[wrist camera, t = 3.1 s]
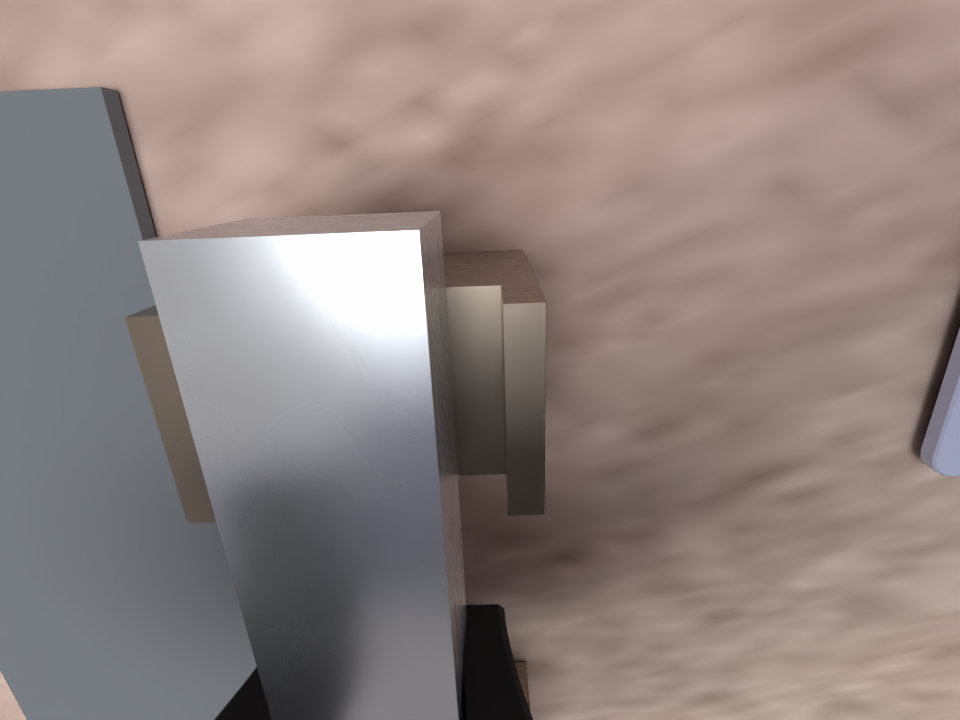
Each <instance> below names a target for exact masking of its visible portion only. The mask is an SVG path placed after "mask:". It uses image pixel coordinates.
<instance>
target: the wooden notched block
mask: <svg viewBox="0 0 960 720" xmlns="http://www.w3.org/2000/svg"><path fill="white" fill-rule="evenodd" d="M443 255H444V270H445V286H446V301H447V317H448V332H449V347H450V363H451V378H452V394H453V409H454V425H455V440H456V456H457V471H458V475H484V474H505V475H506V491H507V506H508V515H540V514H544V494H545V378H546V301H545V299H544V297H543V294H542V292H541V290H540V288H539V286H538V283H537V281H536V279H535V277H534V274H533V272H532V270H531V268H530V266H529V263H528V261H527V259H526V257H525V255H524V252H523V250H520V251H493V252H467V253H443ZM125 320H126V323H127V327H128V330H129V333H130V336H131V340H132V343H133V346H134V349H135V353H136V356H137V359H138V363H139V366H140V369H141V372H142V376H143V379H144V382H145V386H146V389H147V392H148V395H149V399H150V402H151V405H152V408H153V412H154V415H155V418H156V422H157V425H158V428H159V431H160V435H161V438H162V441H163V444H164V448H165V451H166V454H167V458H168V461H169V464H170V467H171V471H172V474H173V477H174V480H175V484H176V487H177V490H178V494H179V497H180V500H181V503H182V507H183V510H184V513H185V517H186V520H187V523H215V522H216V519H215V515H214V511H213V508H212V504H211V501H210V497H209V494H208V490H207V486H206V483H205V479H204V476H203V472H202V469H201V465H200V461H199V458H198V454H197V451H196V447H195V443H194V440H193V436H192V433H191V429H190V426H189V422H188V418H187V415H186V411H185V408H184V404H183V401H182V397H181V393H180V390H179V386H178V383H177V379H176V376H175V372H174V368H173V365H172V361H171V358H170V354H169V350H168V347H167V343H166V340H165V336H164V333H163V329H162V325H161V322H160V318H159V315H158V311H157V308H156V305H154V306H151V307H149V308H146V309H144V310H141V311H139V312H136V313H134V314H132V315H129V316H127V317H125Z"/></svg>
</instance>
